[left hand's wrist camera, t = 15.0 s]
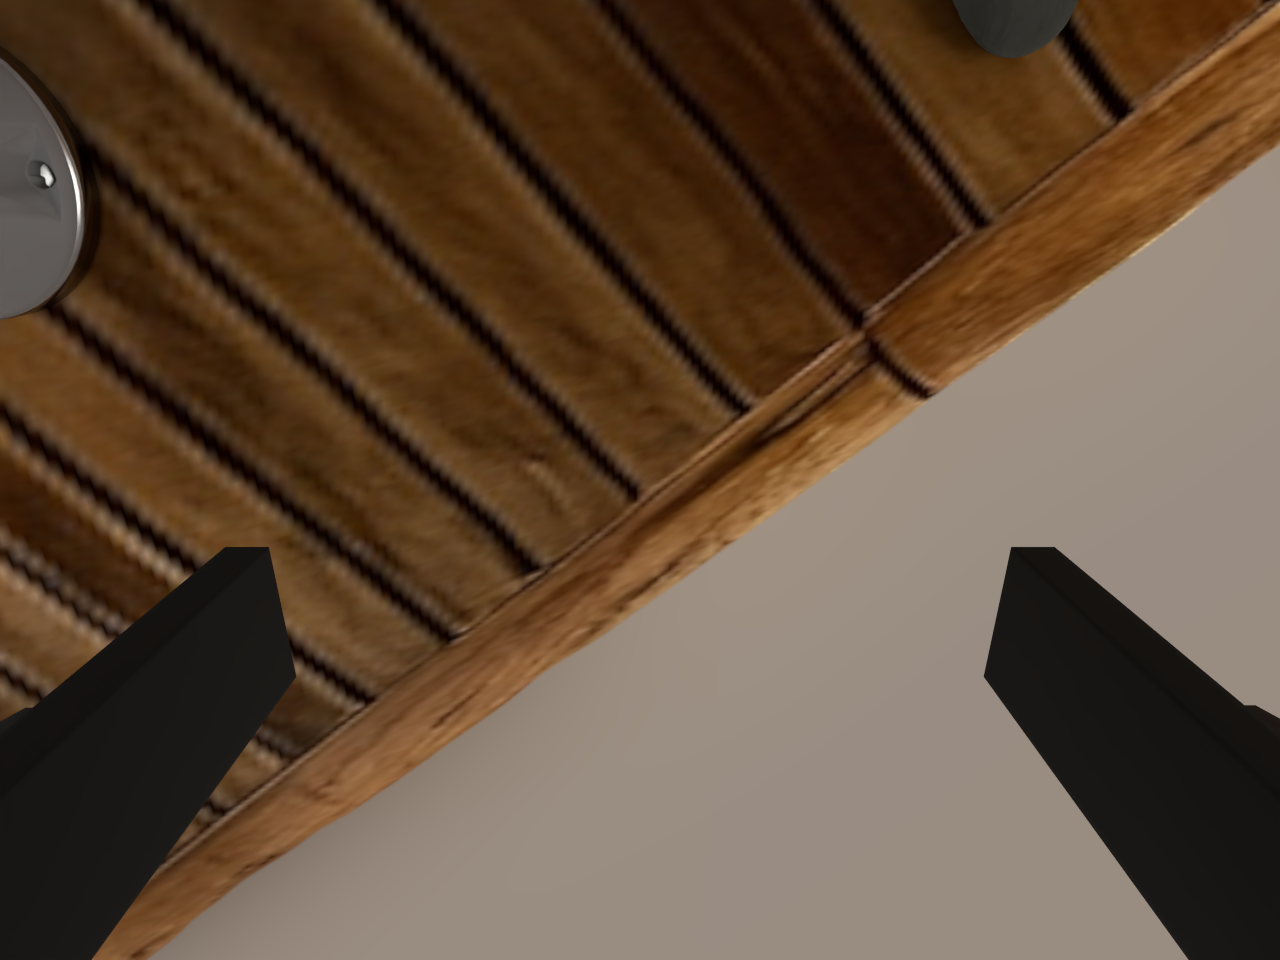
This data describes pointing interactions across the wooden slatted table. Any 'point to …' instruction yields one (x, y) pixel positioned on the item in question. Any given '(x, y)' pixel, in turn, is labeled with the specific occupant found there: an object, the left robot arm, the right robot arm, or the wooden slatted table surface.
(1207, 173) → the wooden slatted table surface
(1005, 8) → the ballet flat
